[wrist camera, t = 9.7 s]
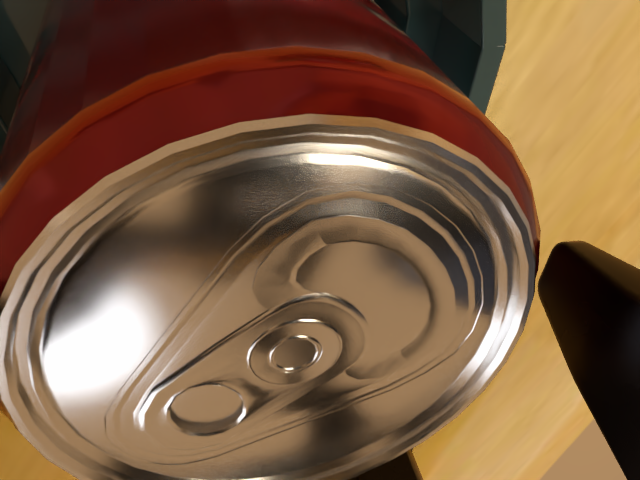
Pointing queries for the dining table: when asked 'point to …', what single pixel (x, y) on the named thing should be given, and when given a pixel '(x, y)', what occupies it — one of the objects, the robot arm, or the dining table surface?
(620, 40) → the dining table surface
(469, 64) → the bowl
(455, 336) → the soda can
